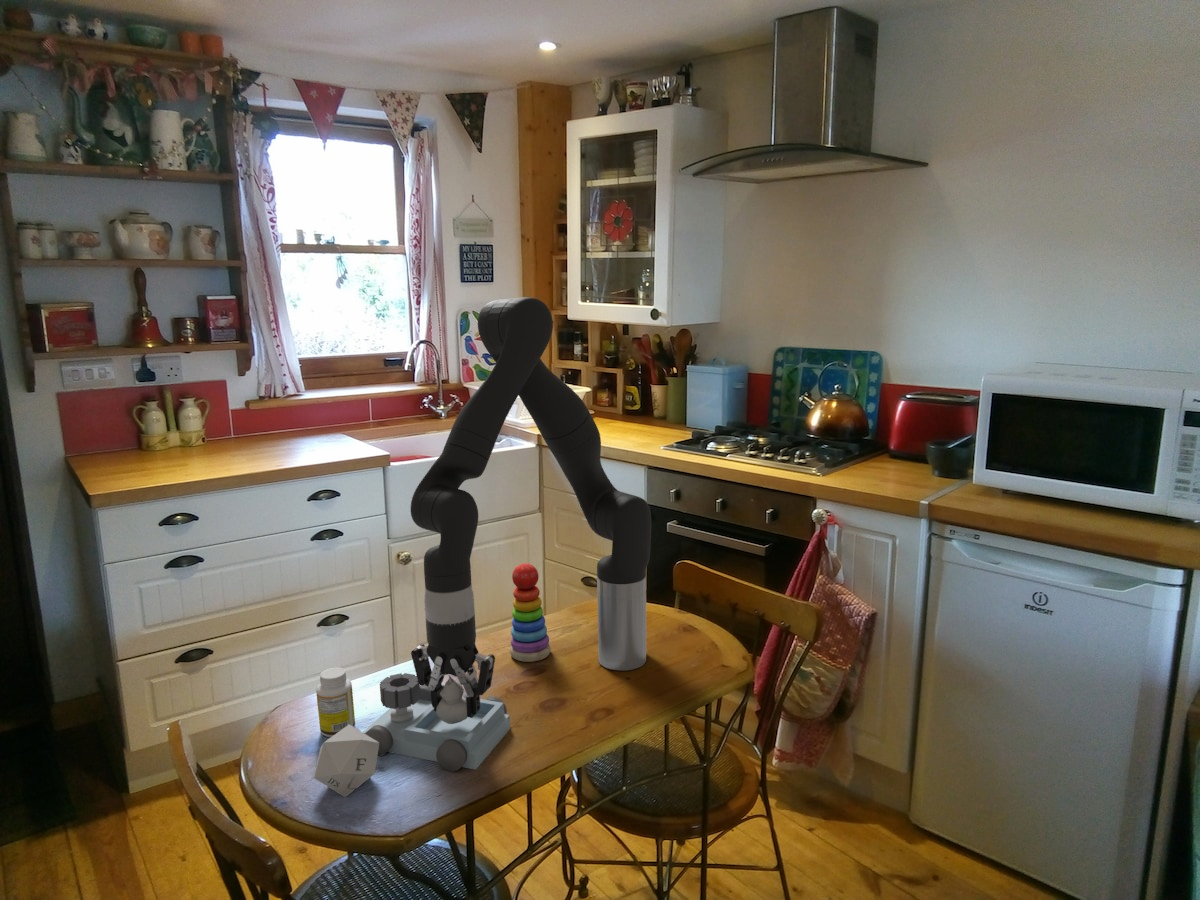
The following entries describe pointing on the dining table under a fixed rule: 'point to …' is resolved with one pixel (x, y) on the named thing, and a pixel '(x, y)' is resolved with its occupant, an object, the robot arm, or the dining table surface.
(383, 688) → the spare wheel
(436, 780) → the dining table surface
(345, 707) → the supplement bottle
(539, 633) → the stacking toy
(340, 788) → the die
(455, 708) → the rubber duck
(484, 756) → the chassis
